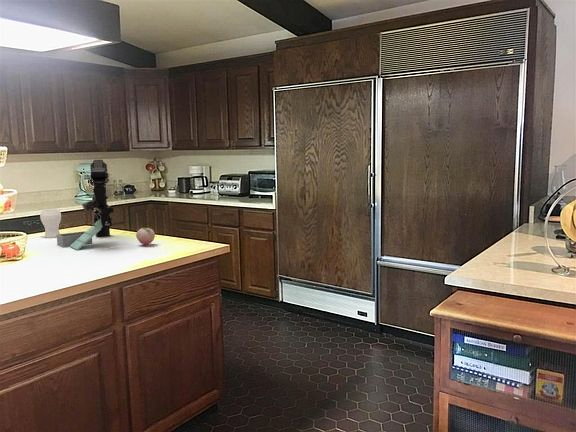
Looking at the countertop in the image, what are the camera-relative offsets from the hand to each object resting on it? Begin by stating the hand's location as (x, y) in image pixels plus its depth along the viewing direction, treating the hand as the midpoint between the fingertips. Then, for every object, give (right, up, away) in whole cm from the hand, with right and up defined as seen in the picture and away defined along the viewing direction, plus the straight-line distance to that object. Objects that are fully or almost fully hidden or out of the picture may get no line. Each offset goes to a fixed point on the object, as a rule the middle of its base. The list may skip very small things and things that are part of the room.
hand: (102, 225), depth 239 cm
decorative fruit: (+21, -10, +3) cm, 24 cm away
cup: (-40, -7, +31) cm, 51 cm away
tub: (-15, -10, +4) cm, 19 cm away
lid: (-4, -5, -3) cm, 7 cm away
